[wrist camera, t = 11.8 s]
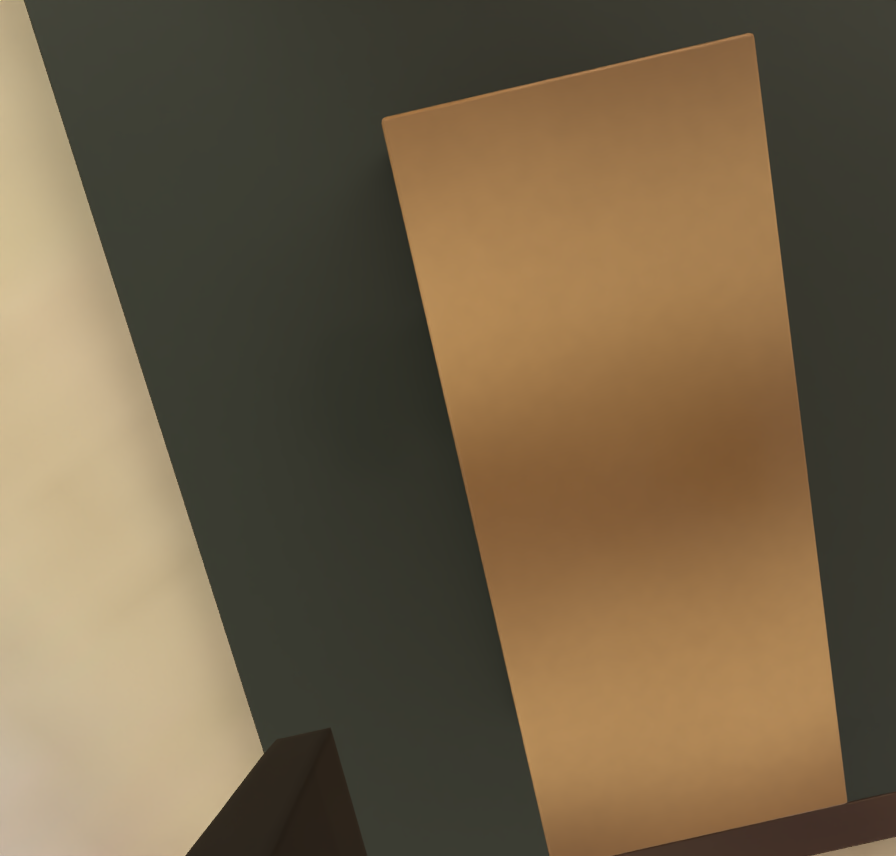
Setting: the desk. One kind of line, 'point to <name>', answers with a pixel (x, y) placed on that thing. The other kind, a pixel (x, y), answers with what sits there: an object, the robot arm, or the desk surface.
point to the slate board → (415, 370)
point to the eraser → (631, 440)
